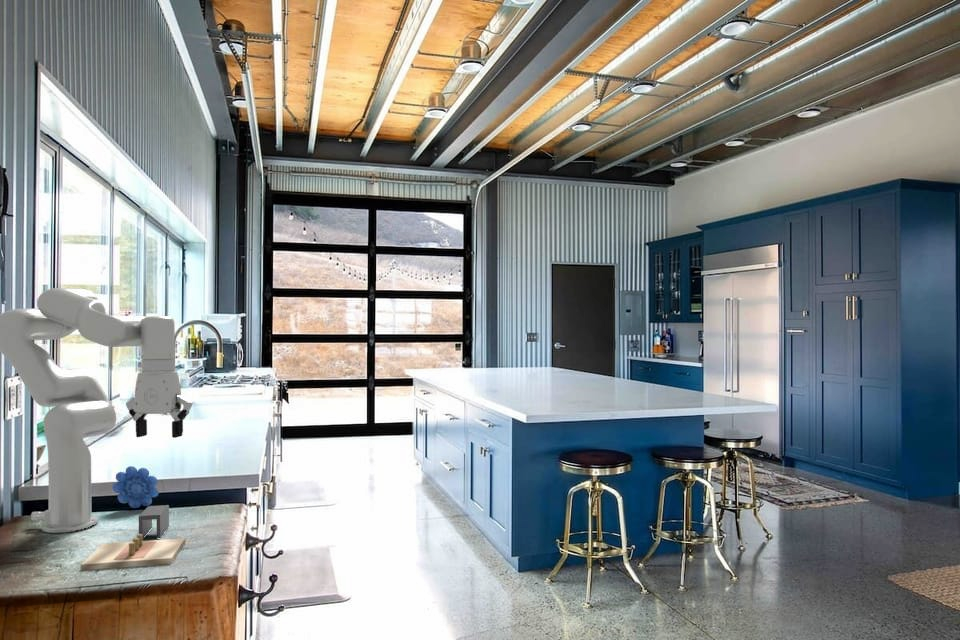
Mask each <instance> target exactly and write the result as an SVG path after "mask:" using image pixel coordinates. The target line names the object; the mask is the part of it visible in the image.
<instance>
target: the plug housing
mask: <svg viewBox="0 0 960 640" xmlns="http://www.w3.org/2000/svg"><path fill="white" fill-rule="evenodd" d="M153 520H156V539H157V538H161V536H162V535H163V534H164V532H165V531H166V530H167V529H168V527H169V528H170V506H169V504H166V505H163V504H162V505H148V506H146V508H145V509H144V510H143V511H142V512H141V513H140V514H139V515H138V534H143V538H144V536H145V535H146V534H147V533H148V532H149V530H150V529H151V528H152V529H153ZM168 530H169V529H168ZM168 530H167V531H168ZM149 533H150V532H149ZM164 535H165V534H164ZM164 535H163V536H164ZM144 539H145V538H144ZM161 539H162V538H161Z"/></svg>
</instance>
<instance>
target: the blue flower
mask: <svg viewBox="0 0 960 640" xmlns="http://www.w3.org/2000/svg"><path fill="white" fill-rule="evenodd" d="M115 480H116V481H117V482H115V483H113V485H112V490H113V491H114V492H115V493H116V494H118V495H117V500H118V501H119V503H121V504H126V503H128V505H129V506H130V507H131V508H132V509H137V508H139V507H141V505H142V506H146V507H148V506H151V504H152V502H153V499H152V498H156V497H157V496H158V495H159V493H160V491H159V489H158V488H157V487H156V485H158V479H157V477H156V476H154V475H150V471H149V470H148V468H145V467H141V468H139V469H137V468H136V467H135V466H134V465H133V466H132V465H130V466H127V467H126V468H125V472H124V471H119V472H117V473H116V474H115Z"/></svg>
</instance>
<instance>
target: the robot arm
mask: <svg viewBox="0 0 960 640" xmlns="http://www.w3.org/2000/svg"><path fill="white" fill-rule="evenodd" d="M36 307H37V308H30V307H29V308H27V307H26V308H15V309H10V310H6V311H4V312H2V313H1V314H0V352H1V354H2V355H3V357H5V360H7V361H8V362H9V363H10V364H11V366H12V367H13V368H14V369H15V372H16V373H17V374H18V377H19V378H20V379H21V381H22V383H23V384H24V386H25V388H26V390H27V391H28V392H29V395H31V398H32V399H33V401H34V402H35V403H36V404H37V405H39V406H41V407H44V408H45V407H46V408H51V409H49V410H48V411H47V413H45V415H44V418H43V421H42V422H43V424H42V425H43V432H44V435H45V440H46V446H47V468H48V469H47V470H48V509H45V510H44V511H32V512H31V514H30V520H32V522H39V521H42V522H43V523H42V524H41V525H40V526H41V531H42V532H44V533H48V534H49V533H50V534H57V533H59V534H60V533H62V534H63V533H70V532H71V531H72V532H76V530H78V531H81V529H82V530H85V529H84V528H86V529H88V528H87V527H89V528H91V527H90V526H92V525H94V524H96V523H97V522H98V523H99V517H98V516H96V515H92V455H91V451H90V449H89V447H88V445H87V444H86V442H85V439H87V438H91V437H96V436H101V435H102V436H103V435H104V434H105V435H106V434H107V433H109V432H111V431H112V430H113V429H114V428H115V425H116V423H117V413H116V410H115V408H114V406H113V404H112V402H111V400H110V399H109V396H107V394H106V393H105V390H104V389H103V388H102V386H101V385H100V383H99V381H98V380H97V379H96V377H95V376H94V375H93V374H92V373H91V372H89V371H87V370H85V369H82V368H66V369H64V368H60V366H58V365H57V364H56V362H55V361H54V359H53V357H52V355H51V354H50V353H49V352H48V351H47V350H45V349H44V348H43V347H42V346H40V345H38V344H37V343H35V342H34V341H49V340H50V341H52V340H60V339H63V338H66V337H67V336H69V335H71V334H72V333H74V332H75V331H76V330H77V331H78V333H79V334H80V336H81V337H83V338H84V339H85V340H88V341H89V342H93V343H94V344H95V343H96V344H98V345H101V346H104V347H110V348H124V347H140V356H141V357H140V361H138V362H137V367H138V368H140V370H141V371H140V372H138V373H137V377H136V381H135V389H134V397H133V398H132V399H130V400H128V401H125V406H126V408H127V410H128V413H129V415H130V416H131V417H132V419H133V421H134V422H135V437H136V438H142V437H146V436H147V435H148V420H147V419H146V417H147V416H148V415H149V414H150V415H164V414H165V415H167V414H169V415H170V416H171V418H172V419H173V420H172V422H171V438H174V439H175V438H180V437H182V436H183V433H184V420H186V417H187V416H188V415H189V414H190V411H191V408H192V406H193V402H192V401H191V400H189V399H187V398H186V397H184V396H182V390H181V389H182V388H181V383H180V377H179V374H178V371H176V344H175V343H176V341H175V339H176V337H175V335H176V334H175V332H176V331H175V320H174V318H173V317H171V316H165V315H164V316H162V315H161V316H159V315H158V316H155V315H153V316H151V315H150V316H145V315H144V316H143V315H142V316H141V315H112V314H111V315H110V314H106V308H105V306H104V304H103V303H102V302H101V301H100V300H99V299H98V297H97V296H96V295H95V294H94V292H92V291H90V290H88V289H83V288H69V287H53V288H49V289H47V290H44V291H43V292H42V293H40V295H39V296H38V298H37V301H36ZM182 406H183V407H182ZM98 523H97V524H98ZM97 524H96V525H97ZM94 526H95V525H94ZM92 527H93V526H92ZM72 532H71V533H72Z"/></svg>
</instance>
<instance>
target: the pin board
mask: <svg viewBox="0 0 960 640" xmlns="http://www.w3.org/2000/svg"><path fill="white" fill-rule="evenodd" d="M185 544H186V537H184V538H181V537H180V538H167V539H159V540H157V539H152V540H151V539H150V540H144V539H143V534H139V533H138V534H136V538H133V539H132V541H121V542H108V543H107V542H106V543H101V544H100V545H99V546H98V547H97V548H96V549H95V550H94V551H93V552H92V553H90V555H88V556H87V558H86V559H85V560H84V561H83V562H82V563H80V571H84V570H85V571H87V570H102V569H113V568H114V569H116V568H127V567H128V568H129V567H130V568H131V567H142V566H143V565H145V566H156V565H155V564H159V565H171V564H173V562H174V561H173V560H176V558H177V556H178V555H179V553H180V552H181V550H182V549H181V548H183V547H184V546H185ZM183 545H184V546H183ZM179 551H180V552H179ZM177 554H178V555H177ZM175 557H176V558H175Z"/></svg>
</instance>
